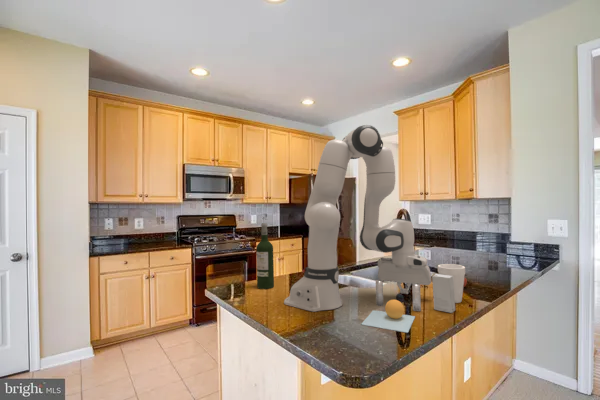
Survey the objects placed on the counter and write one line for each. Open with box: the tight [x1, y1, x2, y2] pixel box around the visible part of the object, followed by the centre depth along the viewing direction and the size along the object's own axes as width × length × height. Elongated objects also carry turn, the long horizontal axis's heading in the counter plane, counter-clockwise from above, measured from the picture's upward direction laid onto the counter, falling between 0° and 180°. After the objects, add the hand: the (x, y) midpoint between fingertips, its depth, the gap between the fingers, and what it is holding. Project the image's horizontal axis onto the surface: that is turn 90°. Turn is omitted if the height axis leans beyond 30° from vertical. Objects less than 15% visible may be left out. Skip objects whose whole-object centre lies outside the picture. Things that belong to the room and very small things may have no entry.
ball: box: [384, 299, 405, 319], centre depth 99 cm, size 6×6×6 cm
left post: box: [375, 279, 384, 307], centre depth 113 cm, size 3×3×9 cm
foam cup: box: [437, 263, 466, 304], centre depth 116 cm, size 10×9×13 cm
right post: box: [411, 284, 422, 312], centre depth 107 cm, size 3×3×9 cm
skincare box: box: [431, 273, 456, 314], centre depth 106 cm, size 6×4×12 cm
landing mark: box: [361, 309, 416, 334], centre depth 97 cm, size 14×14×1 cm
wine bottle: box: [255, 222, 275, 290], centre depth 142 cm, size 8×8×30 cm
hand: (404, 293), depth 121 cm, fingers closed
